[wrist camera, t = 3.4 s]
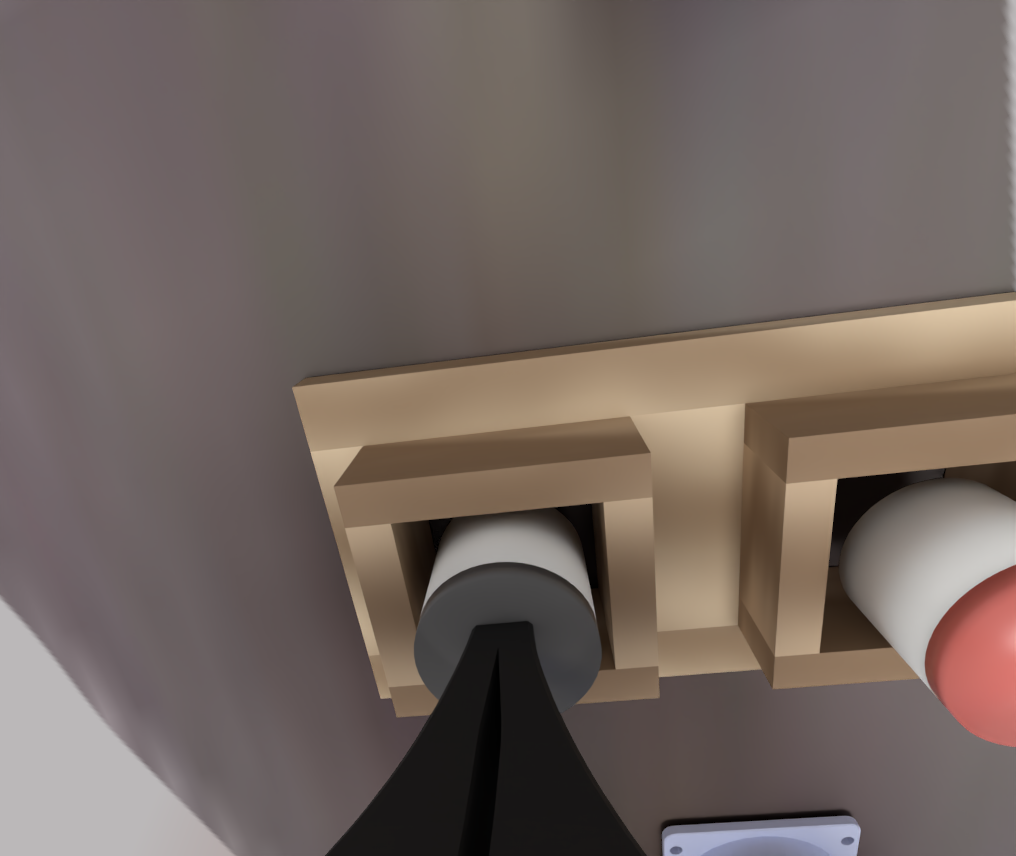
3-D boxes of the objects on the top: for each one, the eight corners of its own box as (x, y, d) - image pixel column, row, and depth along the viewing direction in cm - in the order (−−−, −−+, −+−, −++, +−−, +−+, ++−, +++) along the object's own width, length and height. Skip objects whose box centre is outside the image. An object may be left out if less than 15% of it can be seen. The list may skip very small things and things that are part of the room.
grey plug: (589, 612, 16) (607, 718, 13) (451, 624, 17) (432, 731, 13) (577, 487, 15) (594, 569, 11) (425, 503, 15) (396, 587, 12)
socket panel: (999, 627, 18) (1105, 716, 15) (387, 676, 20) (360, 767, 17) (1085, 283, 14) (1258, 300, 11) (305, 378, 16) (247, 418, 12)
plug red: (997, 613, 14) (1154, 740, 11) (831, 627, 15) (930, 754, 11) (1033, 468, 13) (1228, 561, 9) (847, 487, 13) (967, 583, 10)
